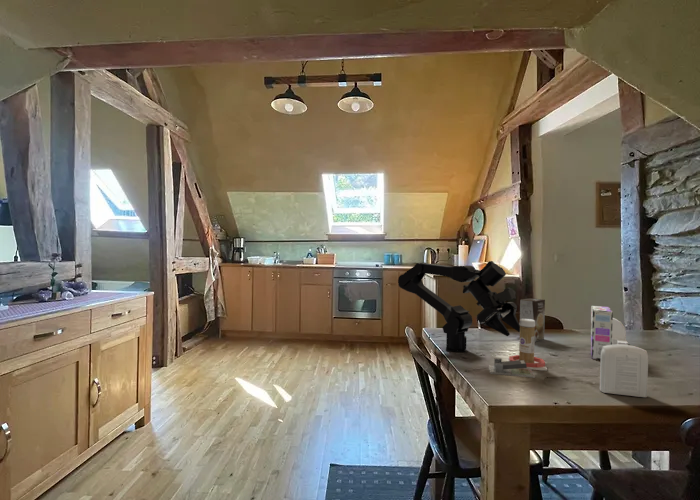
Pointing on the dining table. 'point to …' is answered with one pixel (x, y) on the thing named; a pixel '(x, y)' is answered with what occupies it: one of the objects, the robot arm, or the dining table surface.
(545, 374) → the dining table surface
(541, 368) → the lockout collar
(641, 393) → the photo printer
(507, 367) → the block
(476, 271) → the robot arm
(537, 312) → the coffee box
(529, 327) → the sprinkles bottle
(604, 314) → the candy box
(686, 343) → the dining table surface
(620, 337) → the u-slot stand
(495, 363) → the panel
